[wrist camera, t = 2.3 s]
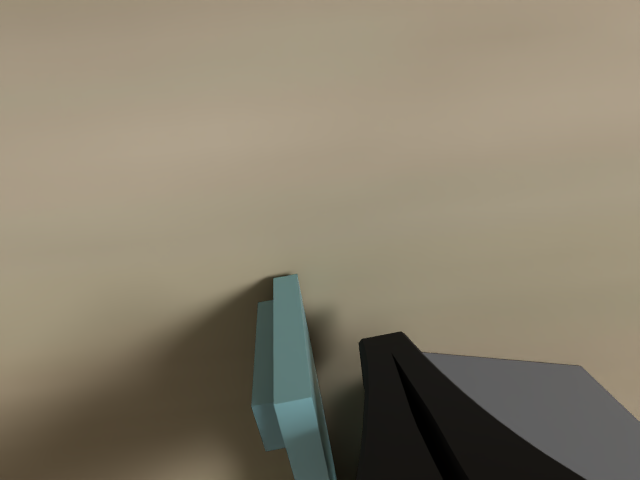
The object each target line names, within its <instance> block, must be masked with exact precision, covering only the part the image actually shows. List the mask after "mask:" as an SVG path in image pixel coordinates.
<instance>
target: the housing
mask: <svg viewBox="0 0 640 480" xmlns="http://www.w3.org/2000/svg"><path fill="white" fill-rule="evenodd" d="M422 353H423V352H422ZM423 354H424V355H425V356H426V357H427V358H428V359H429V360H430V361H431V362H432V363H433V364H434V365H435V366H436V367H437V368H438V369H439V370H440V371H441V372H442V373H443V374H445V375H446V376H447V377H448V378H449V379H450V380H451V381H452V382H453V383H454V384H455V385H456V386H458V387H459V388H460V389H461V390H462V391H463V392H464V393H466V394H467V395H468V396H469V397H470V398H471V399H473V400H474V401H475V402H476V403H477V404H479V405H480V406H481V407H482V408H483V409H485V410H486V411H487V412H489V413H490V414H491V415H492V416H494V417H495V418H496V419H497V420H499V421H500V422H501V423H503V424H504V425H505V426H507V427H508V428H510V429H511V430H512V431H514V432H515V433H516V434H518V435H519V436H521V437H522V438H523V439H525V440H526V441H528V442H529V443H531V444H532V445H533V446H535V447H536V448H538V449H539V450H541V451H542V452H544V453H545V454H547V455H548V456H550V457H552V458H553V459H555V460H556V461H558V462H560V463H561V464H563V465H564V466H566V467H568V468H569V469H571V470H572V471H574V472H575V473H577V474H579V475H580V476H582V477H583V478H585V479H587V480H640V422H639V421H638V420H637V419H636V418H635V417H634V416H633V415H632V414H631V413H630V412H629V411H628V410H627V409H626V408H625V407H623V406H622V405H621V404H620V403H619V402H618V401H617V400H616V399H615V398H614V397H613V396H612V395H611V394H610V393H609V392H608V391H607V390H606V389H605V388H604V387H602V386H601V385H600V384H599V383H598V382H597V381H596V380H595V379H594V378H593V377H592V376H591V375H590V374H589V373H588V372H587V371H586V370H585V369H584V368H583V367H582V366H574V365H563V364H551V363H539V362H528V361H516V360H505V359H493V358H481V357H470V356H458V355H446V354H435V353H423Z"/></svg>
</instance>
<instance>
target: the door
mask: <svg viewBox="0 0 640 480" xmlns="http://www.w3.org/2000/svg"><path fill="white" fill-rule="evenodd" d="M251 407H252V410H253V413H254V416H255V420H256V423H257V426H258V429H259V432H260V435H261V438H262V441H263V444H264V447H265V451H271V450H276V449H281V448H286V450H287V454H288V458H289V461H290V465H291V468H292V472H293V475H294V479H295V480H337V476H336V471H335V466H334V461H333V456H332V451H331V446H330V440H329V435H328V430H327V425H326V420H325V415H324V410H323V404H322V399H321V394H320V389H319V384H318V379H317V373H316V368H315V363H314V358H313V353H312V348H311V343H310V337H309V332H308V327H307V322H306V317H305V312H304V307H303V301H302V296H301V291H300V286H299V281H298V276H297V274H294V275H289V276H283V277H278V278H273V300H269V301H264V302H258V311H257V327H256V342H255V357H254V373H253V388H252V404H251Z"/></svg>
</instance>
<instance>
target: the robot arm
mask: <svg viewBox="0 0 640 480" xmlns="http://www.w3.org/2000/svg"><path fill="white" fill-rule="evenodd" d="M359 351H360V359H361V368H362V376H363V385H364V389H365V400H364V417H363V431H362V441H361V449H360V457H359V464H358V471H357V477H356V480H587V479H585V478H583V477H582V476H580V475H579V474H577V473H575V472H574V471H572V470H571V469H569V468H568V467H566V466H564V465H563V464H561V463H560V462H558V461H556V460H555V459H553V458H552V457H550V456H548V455H547V454H545V453H544V452H542V451H541V450H539V449H538V448H536V447H535V446H533V445H532V444H531V443H529V442H528V441H526V440H525V439H523V438H522V437H521V436H519V435H518V434H516V433H515V432H514V431H512V430H511V429H510V428H508V427H507V426H505V425H504V424H503V423H501V422H500V421H499V420H497V419H496V418H495V417H494V416H492V415H491V414H490V413H489V412H487V411H486V410H485V409H483V408H482V407H481V406H480V405H479V404H477V403H476V402H475V401H474V400H473V399H471V398H470V397H469V396H468V395H467V394H466V393H464V392H463V391H462V390H461V389H460V388H459V387H458V386H456V385H455V384H454V383H453V382H452V381H451V380H450V379H449V378H448V377H447V376H446V375H445V374H443V373H442V372H441V371H440V370H439V369H438V368H437V367H436V366H435V365H434V364H433V363H432V362H431V361H430V360H429V359H428V358H427V357H426V356H425V355H424V354H423V353H422V352H421V351H420V350H419V349H418V348H417V347H416V346H415V345H414V344H413V342H412V341H411V340H410V339H409V338H408V337H407V336H406V335H405V334H404V333H403V332H396V333H391V334H385V335H380V336H375V337H370V338H365V339H362V340H361V341H360V342H359Z"/></svg>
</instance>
